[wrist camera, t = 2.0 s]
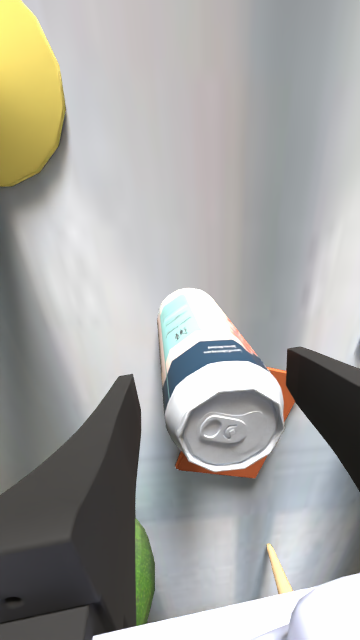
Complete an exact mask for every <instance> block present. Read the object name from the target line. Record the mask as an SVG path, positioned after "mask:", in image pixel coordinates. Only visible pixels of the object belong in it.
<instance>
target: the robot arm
mask: <svg viewBox="0 0 360 640" xmlns="http://www.w3.org/2000/svg"><path fill="white" fill-rule="evenodd" d="M286 386H287V388H288V390H289V392H290V394H291V395H292V397H293V399H294V400H295V402H296V404H297V405H298V406H299V407H300V409H301V410H302V411H303V413H304V414H305V415H306V417H307V418H308V419H309V420H310V422H311V423H312V424H313V425H314V427H315V428H316V429H317V430H318V432H319V433H320V434H321V435H322V437H323V438H324V439H325V440H326V442H327V443H328V444H329V446H330V447H331V448H332V450H333V451H334V452H335V454H336V455H337V457H338V458H339V460H340V461H341V463H342V464H343V466H344V467H345V469H346V471H347V472H348V474H349V475H350V477H351V478H352V480H353V482H354V483H355V485H356V486H357V488H358V490H359V491H360V369H359V368H356V367H353V366H351V365H348V364H345V363H343V362H340V361H338V360H335V359H332V358H330V357H327V356H325V355H322V354H320V353H317V352H315V351H312V350H309V349H306V348H303V347H295V348H289V349H287V369H286ZM140 439H141V409H140V404H139V400H138V395H137V391H136V386H135V382H134V377H133V374H130V375H124V376H119V377H118V378H117V380H116V381H115V383H114V384H113V386H112V387H111V389H110V390H109V391H108V393H107V394H106V396H105V397H104V398H103V400H102V401H101V403H100V404H99V405H98V407H97V408H96V409H95V411H94V412H93V413H92V414H91V415H90V417H89V418H88V419H87V420H86V421H85V423H84V424H83V425H82V426H81V427H80V428H79V429H78V430H77V432H76V433H75V434H74V435H73V436H72V437H71V438H70V439H69V440H68V441H67V442H66V443H65V444H63V445H62V446H61V447H60V448H59V449H58V450H57V451H56V452H55V453H53V454H52V455H51V456H50V457H49V458H48V459H47V460H46V461H44V462H43V463H42V464H41V465H40V466H38V467H37V468H36V469H35V470H33V471H32V472H31V473H30V474H28V475H27V476H26V477H24V478H23V479H22V480H20V481H19V482H18V483H17V484H15V485H14V486H12V487H11V488H10V489H8V490H7V491H5V492H4V493H2V494H1V495H0V640H360V573H358V574H354V575H349V576H345V577H341V578H338V579H336V580H333V581H330V582H327V583H324V584H322V585H319V586H315V587H311V588H306V589H302V590H297V591H293V592H288V593H284V594H279V595H275V596H270V597H266V598H261V599H257V600H252V601H248V602H243V603H239V604H234V605H230V606H225V607H221V608H216V609H212V610H207V611H203V612H198V613H194V614H189V615H185V616H180V617H176V618H171V619H167V620H162V621H158V622H153V623H149V624H144V625H140V626H137V624H136V575H135V492H136V478H137V468H138V459H139V449H140Z"/></svg>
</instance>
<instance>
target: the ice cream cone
mask: <svg viewBox="0 0 360 640" xmlns="http://www.w3.org/2000/svg"><path fill="white" fill-rule="evenodd" d="M267 551H268V554H269V558H270V562H271V566H272V570H273V574H274V578H275V581H276V585H277V590H278V594H284V593H288V592H293V590H292V588H291V586H290V584H289V582H288V579H287V577H286V575H285V573H284V571H283V569H282V566H281V564H280V562H279V560H278V558H277V556H276V553H275V551H274V549H273V547H272V546H271V544H267Z"/></svg>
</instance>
